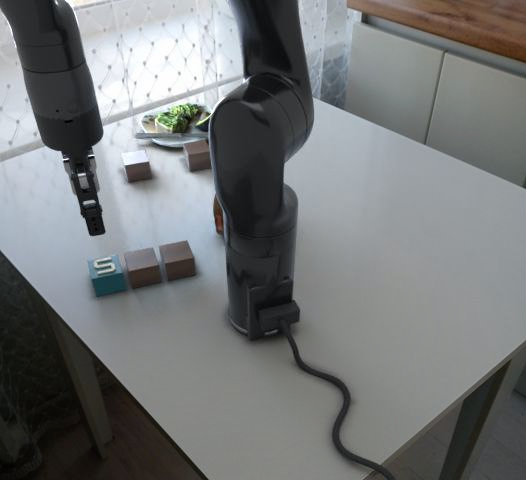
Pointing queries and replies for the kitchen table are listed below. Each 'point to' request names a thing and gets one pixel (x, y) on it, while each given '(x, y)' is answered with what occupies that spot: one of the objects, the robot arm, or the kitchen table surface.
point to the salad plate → (176, 124)
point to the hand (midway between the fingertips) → (93, 216)
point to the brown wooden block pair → (147, 268)
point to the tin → (218, 216)
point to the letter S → (106, 275)
